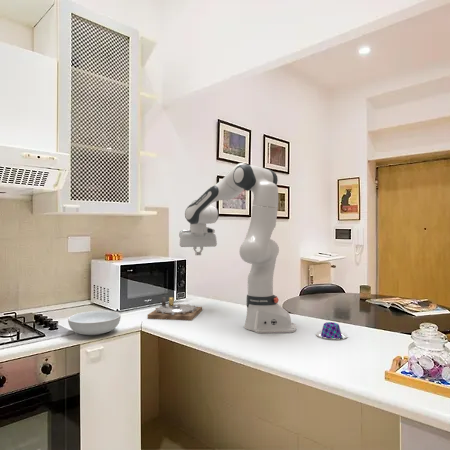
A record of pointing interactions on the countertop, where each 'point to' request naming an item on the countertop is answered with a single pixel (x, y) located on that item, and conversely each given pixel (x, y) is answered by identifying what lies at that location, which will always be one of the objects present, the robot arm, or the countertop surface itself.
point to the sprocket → (175, 308)
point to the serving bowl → (94, 322)
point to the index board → (176, 316)
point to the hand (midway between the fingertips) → (198, 255)
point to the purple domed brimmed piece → (331, 331)
